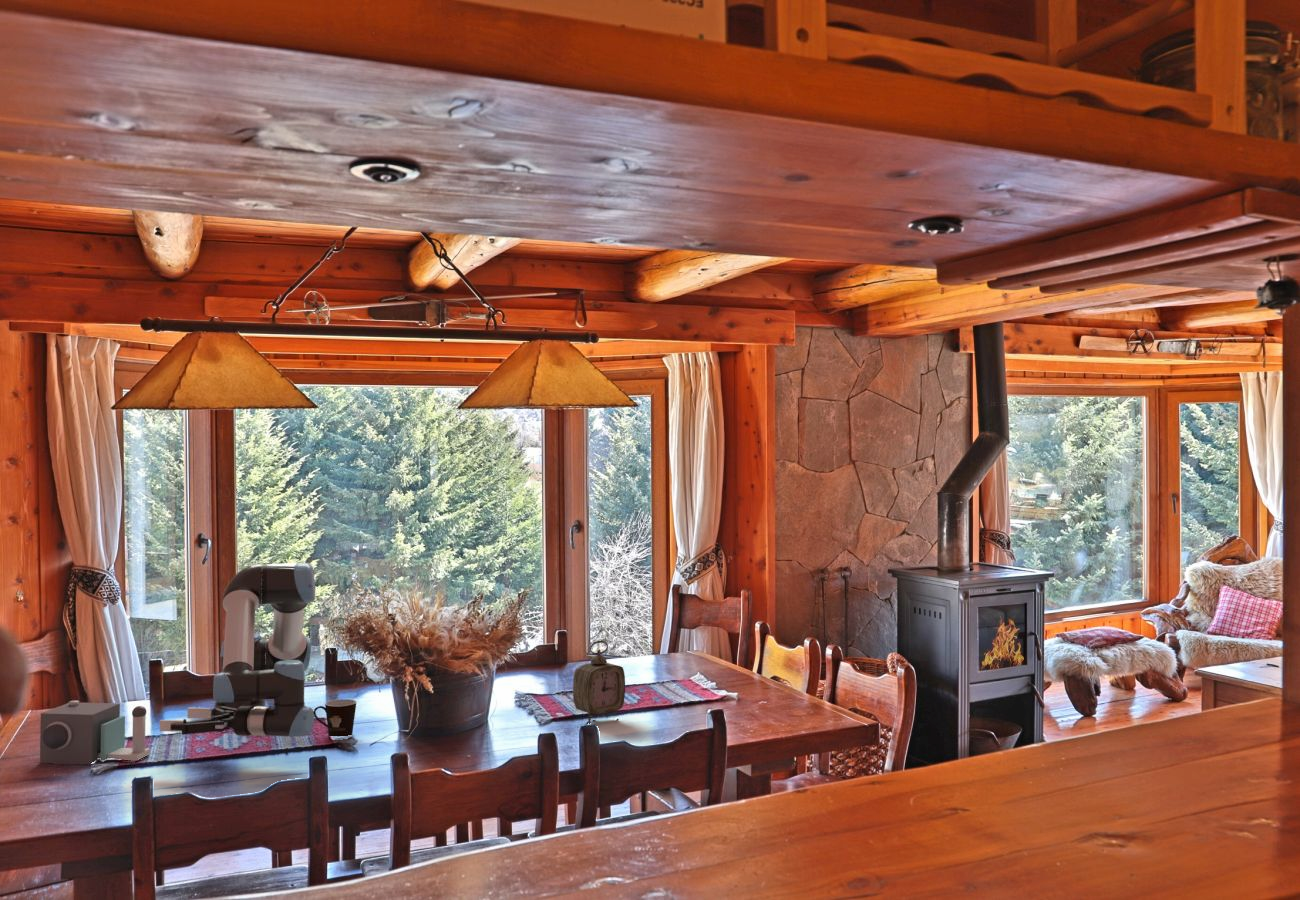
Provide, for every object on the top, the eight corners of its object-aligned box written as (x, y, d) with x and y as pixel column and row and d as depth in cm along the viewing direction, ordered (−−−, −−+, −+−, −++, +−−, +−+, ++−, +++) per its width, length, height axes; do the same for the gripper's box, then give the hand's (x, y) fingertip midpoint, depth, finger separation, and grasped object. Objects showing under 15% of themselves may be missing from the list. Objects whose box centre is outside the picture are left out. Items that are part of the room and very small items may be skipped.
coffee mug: (362, 736, 288) (362, 701, 289) (339, 743, 281) (339, 707, 281) (334, 730, 294) (334, 696, 295) (310, 737, 287) (311, 702, 287)
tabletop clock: (587, 729, 299) (588, 645, 299) (569, 722, 306) (570, 641, 306) (624, 721, 308) (625, 640, 309) (606, 715, 315) (607, 636, 315)
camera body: (119, 751, 271) (119, 699, 271) (86, 767, 257) (87, 712, 257) (69, 750, 272) (70, 698, 272) (34, 765, 258) (35, 711, 258)
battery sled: (154, 753, 269) (155, 702, 269) (134, 763, 260) (135, 710, 260) (85, 751, 270) (86, 700, 270) (63, 761, 261) (64, 708, 261)
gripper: (230, 748, 250) (147, 746, 251) (273, 723, 275) (198, 721, 276) (230, 717, 250) (148, 716, 251) (273, 695, 275) (199, 694, 276)
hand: (174, 719), depth 264 cm, fingers open, 13 cm apart
